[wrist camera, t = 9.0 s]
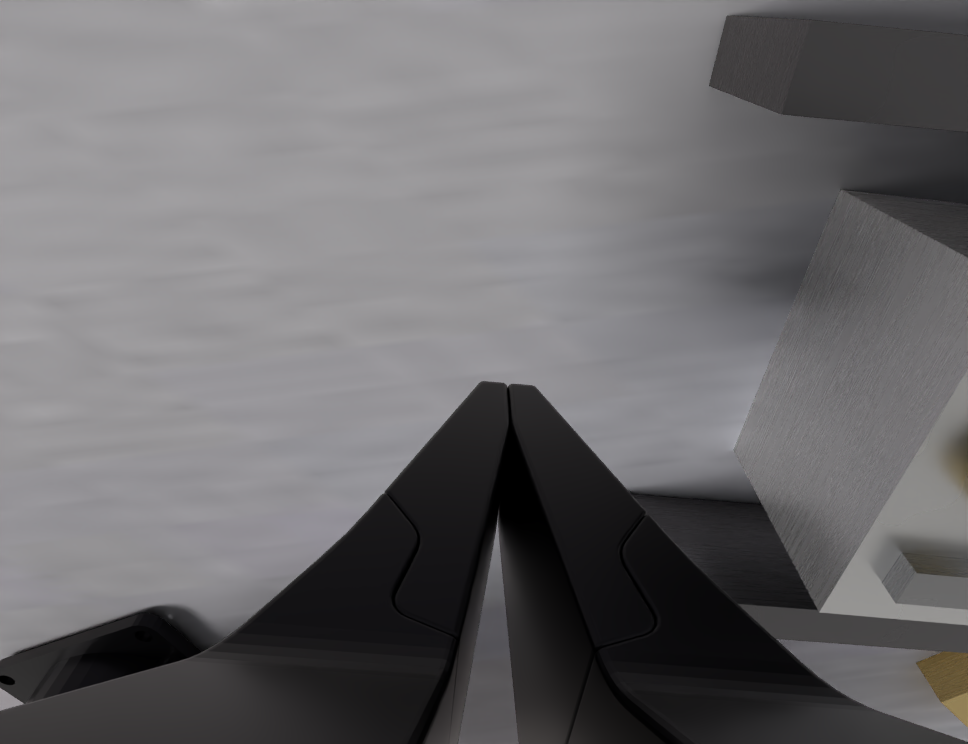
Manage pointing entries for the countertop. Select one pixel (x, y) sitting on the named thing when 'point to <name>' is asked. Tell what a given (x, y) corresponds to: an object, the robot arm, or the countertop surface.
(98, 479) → the countertop surface
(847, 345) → the block
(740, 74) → the bracket
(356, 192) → the countertop surface
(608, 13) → the countertop surface
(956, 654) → the gold elongated piece
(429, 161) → the countertop surface
